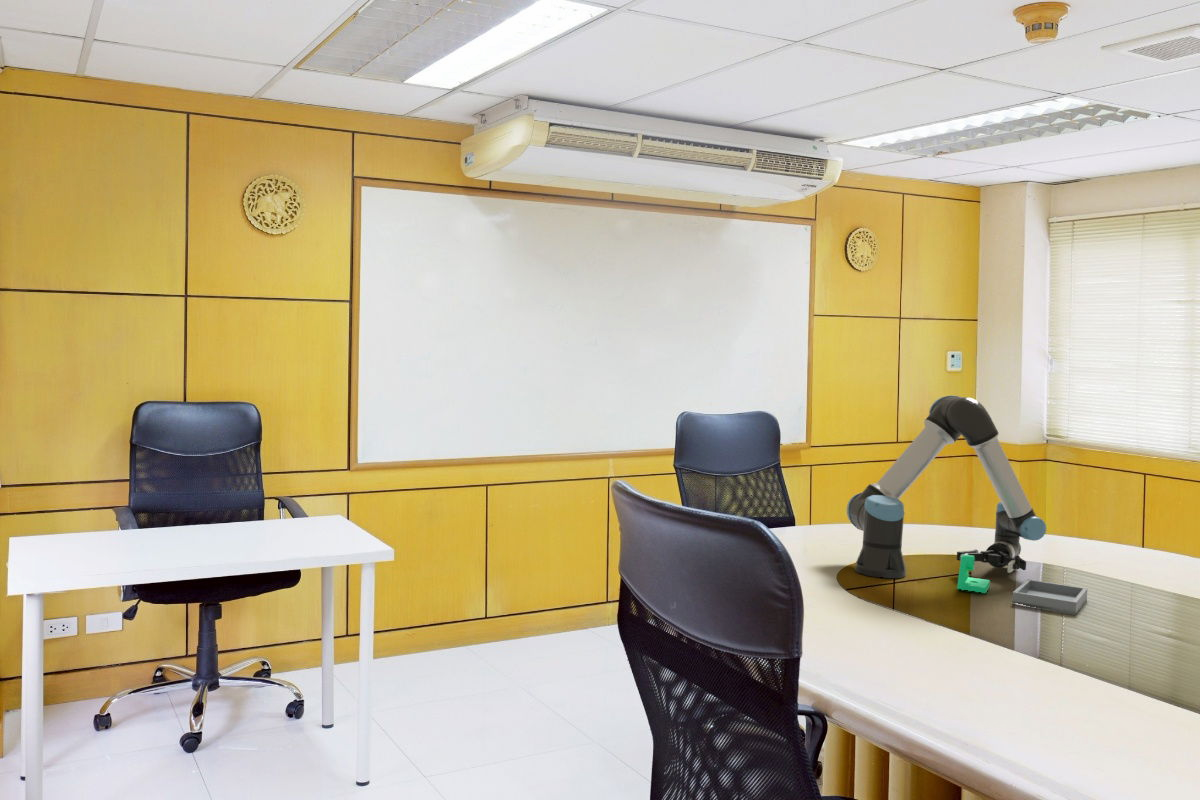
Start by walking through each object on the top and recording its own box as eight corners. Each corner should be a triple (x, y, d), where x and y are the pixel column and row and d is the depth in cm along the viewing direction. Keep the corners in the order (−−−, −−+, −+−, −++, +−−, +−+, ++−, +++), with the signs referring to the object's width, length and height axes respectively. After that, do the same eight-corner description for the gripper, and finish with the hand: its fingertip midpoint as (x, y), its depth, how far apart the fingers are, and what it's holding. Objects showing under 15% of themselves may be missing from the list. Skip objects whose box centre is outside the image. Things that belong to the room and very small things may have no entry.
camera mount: (985, 596, 284) (987, 561, 284) (957, 592, 288) (959, 557, 287) (989, 588, 295) (992, 554, 294) (962, 585, 298) (965, 551, 298)
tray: (1012, 604, 275) (1012, 592, 275) (1027, 590, 293) (1027, 579, 293) (1075, 615, 266) (1076, 602, 266) (1086, 600, 285) (1087, 588, 285)
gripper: (1041, 572, 310) (1028, 583, 292) (958, 560, 323) (941, 570, 306) (1043, 548, 309) (1030, 558, 292) (960, 537, 323) (943, 546, 305)
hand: (985, 564), depth 299 cm, fingers open, 13 cm apart
